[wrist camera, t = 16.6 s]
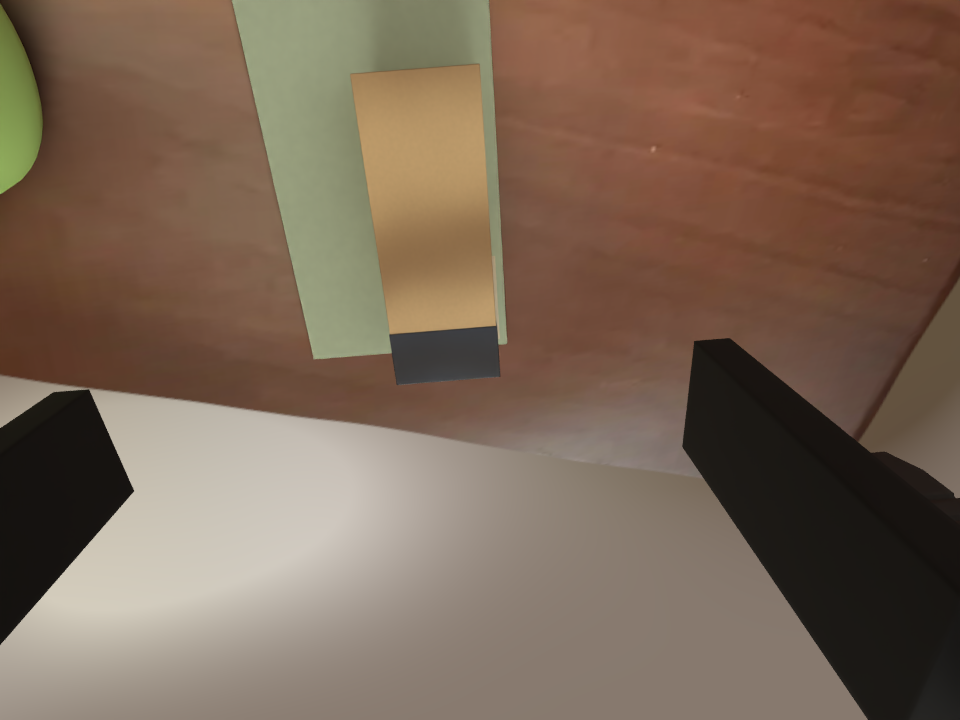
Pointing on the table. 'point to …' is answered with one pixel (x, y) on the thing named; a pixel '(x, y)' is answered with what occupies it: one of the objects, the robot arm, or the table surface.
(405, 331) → the beech block
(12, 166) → the teapot
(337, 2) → the envelope
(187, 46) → the table surface
